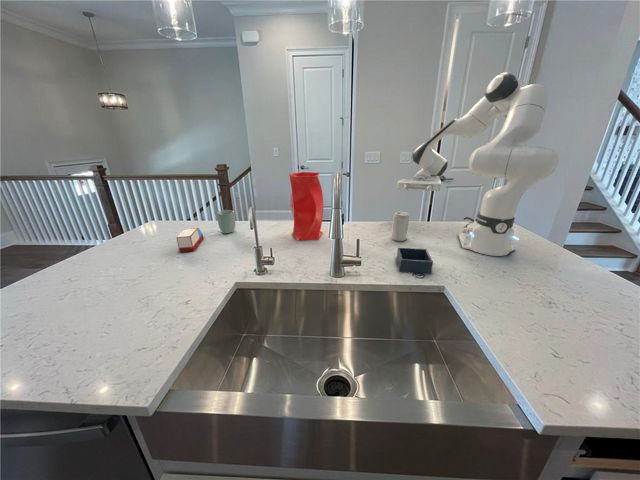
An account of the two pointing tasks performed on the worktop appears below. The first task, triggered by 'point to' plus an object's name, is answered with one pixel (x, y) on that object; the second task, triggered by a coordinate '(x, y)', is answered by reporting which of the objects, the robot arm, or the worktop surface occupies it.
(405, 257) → the tote
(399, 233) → the beverage can
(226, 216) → the cup
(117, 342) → the worktop surface
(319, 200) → the vase
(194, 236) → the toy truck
